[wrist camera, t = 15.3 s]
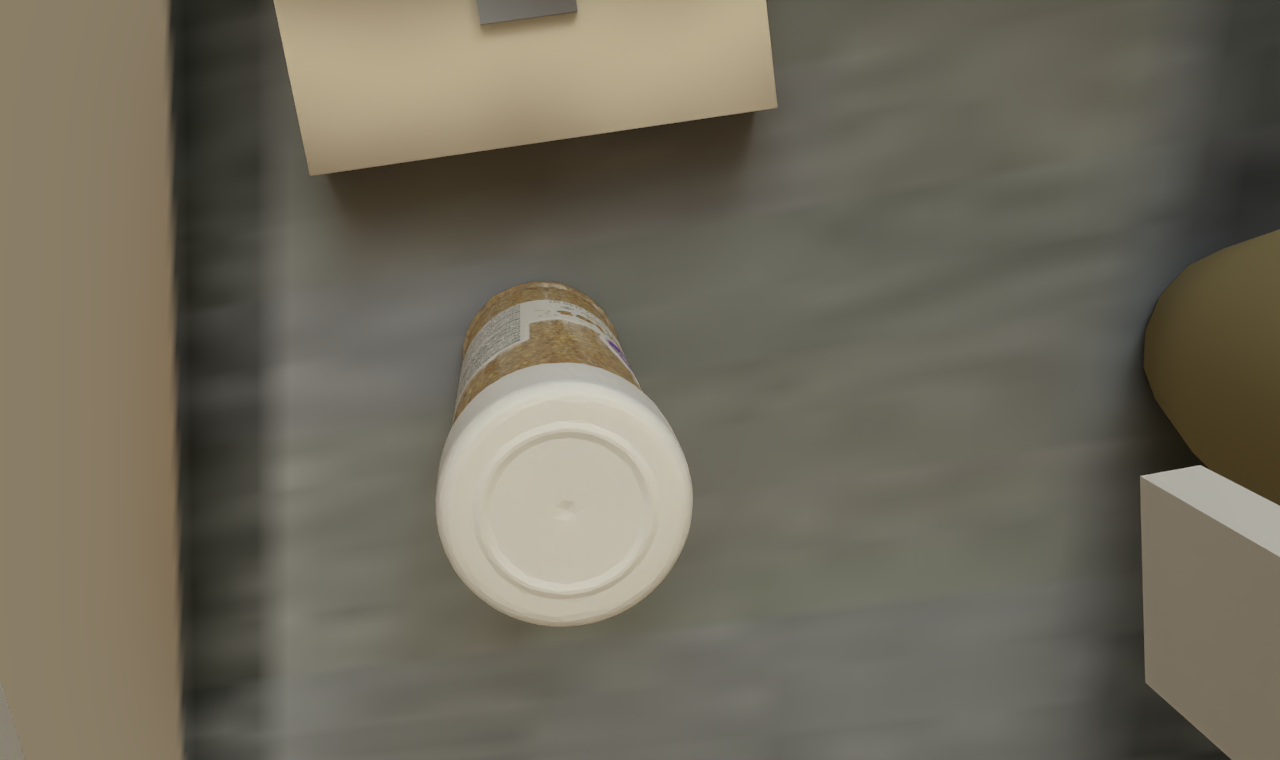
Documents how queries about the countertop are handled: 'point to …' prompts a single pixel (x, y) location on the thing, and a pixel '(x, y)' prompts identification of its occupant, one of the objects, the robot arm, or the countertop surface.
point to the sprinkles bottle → (557, 465)
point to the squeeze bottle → (1223, 361)
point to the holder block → (512, 72)
